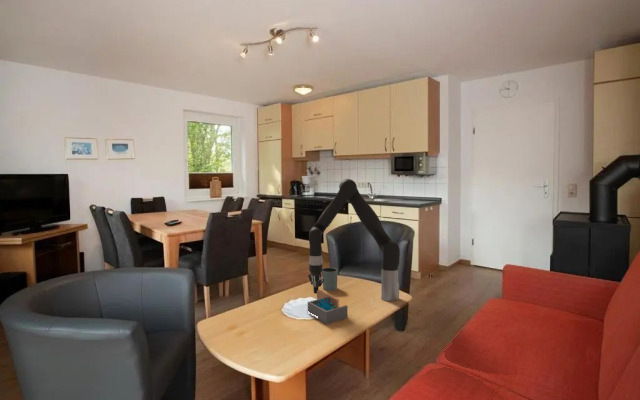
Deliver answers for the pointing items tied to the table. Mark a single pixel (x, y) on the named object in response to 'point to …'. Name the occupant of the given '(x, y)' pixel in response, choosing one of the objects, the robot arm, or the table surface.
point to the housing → (327, 315)
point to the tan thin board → (331, 298)
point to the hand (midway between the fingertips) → (316, 293)
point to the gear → (326, 305)
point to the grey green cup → (329, 278)
